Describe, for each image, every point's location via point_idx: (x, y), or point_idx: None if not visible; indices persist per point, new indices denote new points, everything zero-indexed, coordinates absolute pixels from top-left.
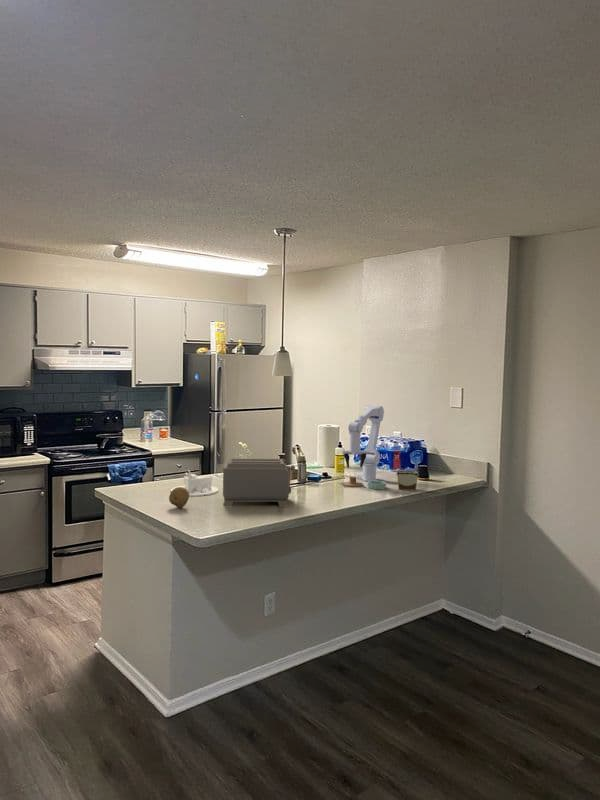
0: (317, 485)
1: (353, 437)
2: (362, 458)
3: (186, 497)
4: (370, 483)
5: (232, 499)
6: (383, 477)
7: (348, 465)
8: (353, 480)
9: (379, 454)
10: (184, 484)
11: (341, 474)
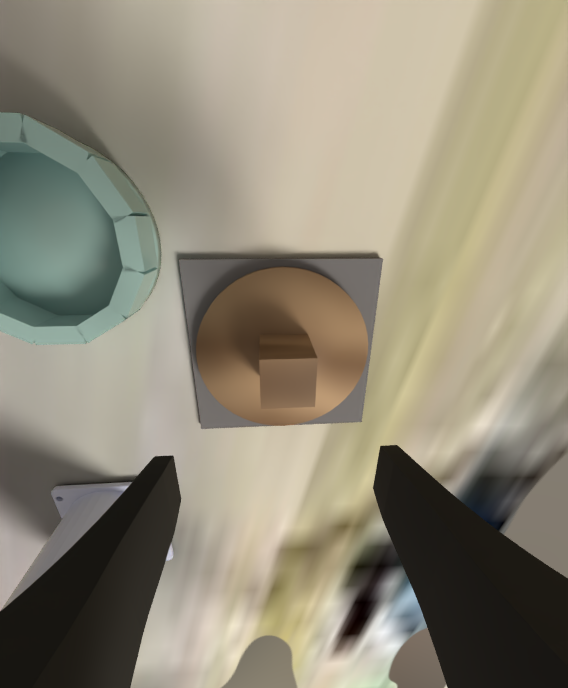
0: (549, 360)
1: None
2: (33, 663)
3: None
4: (116, 187)
5: None
6: (15, 577)
7: (409, 466)
8: (287, 347)
9: None
10: None
11: (271, 622)
